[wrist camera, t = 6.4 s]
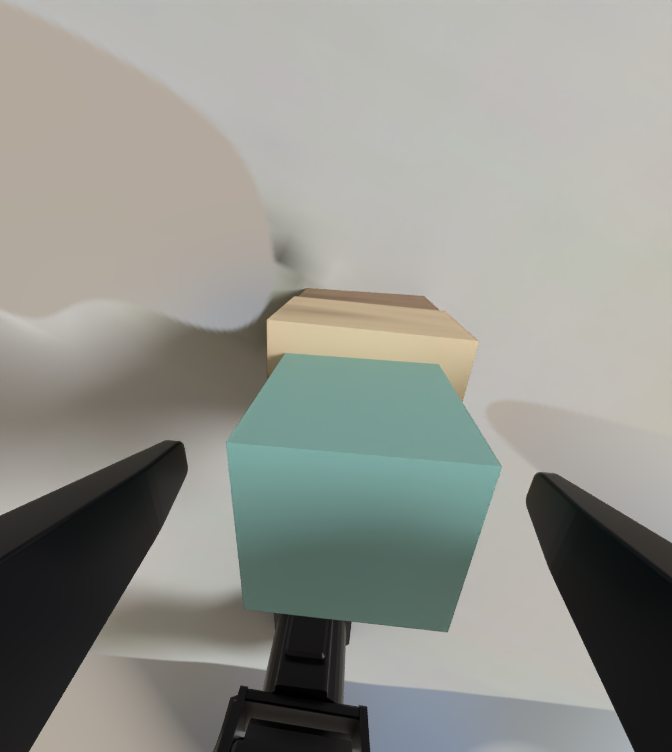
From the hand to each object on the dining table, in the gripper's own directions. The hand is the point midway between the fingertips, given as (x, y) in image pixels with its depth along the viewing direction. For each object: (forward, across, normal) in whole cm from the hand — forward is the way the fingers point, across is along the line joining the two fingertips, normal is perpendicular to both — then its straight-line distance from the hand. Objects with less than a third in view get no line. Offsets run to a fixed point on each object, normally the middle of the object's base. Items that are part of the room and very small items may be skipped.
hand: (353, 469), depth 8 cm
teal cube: (+2, 0, 0) cm, 2 cm away
